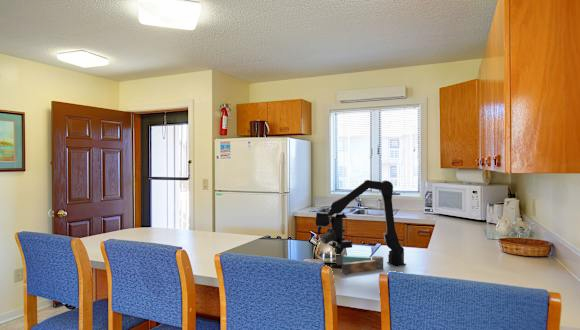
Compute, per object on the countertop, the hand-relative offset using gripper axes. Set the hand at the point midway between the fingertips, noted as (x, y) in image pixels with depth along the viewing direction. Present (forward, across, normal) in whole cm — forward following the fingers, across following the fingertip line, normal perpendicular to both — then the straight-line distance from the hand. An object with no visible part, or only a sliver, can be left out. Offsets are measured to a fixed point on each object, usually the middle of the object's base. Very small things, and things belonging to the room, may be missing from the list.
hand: (337, 259), depth 183 cm
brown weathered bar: (+1, +8, +4) cm, 9 cm away
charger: (+2, +13, -19) cm, 23 cm away
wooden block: (+1, +17, +4) cm, 17 cm away
